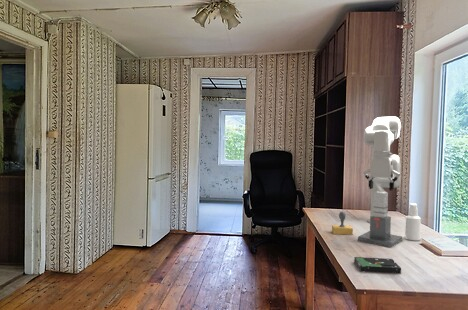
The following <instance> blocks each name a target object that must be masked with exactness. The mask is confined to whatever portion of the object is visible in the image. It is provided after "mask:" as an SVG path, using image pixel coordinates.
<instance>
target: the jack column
mask: <svg viewBox="0 0 468 310" xmlns="http://www.w3.org/2000/svg"><path fill="white" fill-rule="evenodd" d="M388 198H389V192H387V191H386V192H379V191H377V192H374V217H377V218H384V219H385V218H387V216H388V209H389V207H388V205H389V199H388Z"/></svg>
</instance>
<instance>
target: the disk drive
mask: <svg viewBox="0 0 468 310" xmlns="http://www.w3.org/2000/svg"><path fill="white" fill-rule="evenodd" d="M354 264H355V266H356V265H357V266H356V267H357V269H358V268H359V269H358V270H359V272H363V271H365V272H366V273H367V272H368V273H382V274H385V273H386V274H402V268H401V266H400V265H399V264H398V263H397V262H395V260H394V259H393V258H384V257H383V258H382V257H381V258H380V257H363V256H359V257H358V256H354Z"/></svg>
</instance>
